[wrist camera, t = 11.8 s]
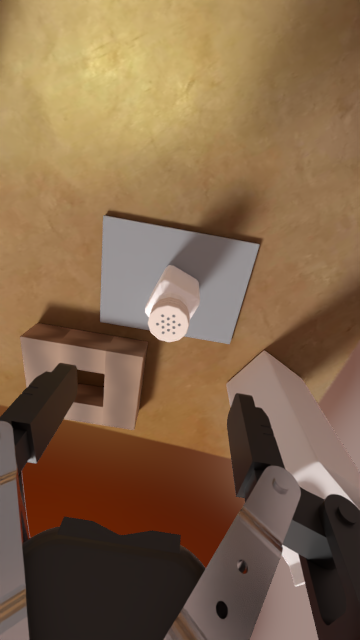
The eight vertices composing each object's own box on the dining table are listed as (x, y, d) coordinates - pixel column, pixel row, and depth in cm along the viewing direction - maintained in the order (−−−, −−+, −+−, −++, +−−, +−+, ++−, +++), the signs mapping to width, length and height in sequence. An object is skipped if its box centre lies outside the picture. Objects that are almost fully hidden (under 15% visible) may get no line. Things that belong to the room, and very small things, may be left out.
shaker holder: (148, 341, 32) (143, 357, 28) (139, 410, 37) (133, 430, 34) (37, 322, 31) (20, 336, 28) (44, 395, 36) (30, 413, 33)
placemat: (258, 243, 26) (259, 244, 25) (229, 341, 31) (229, 344, 30) (105, 215, 25) (103, 215, 25) (101, 319, 30) (100, 321, 30)
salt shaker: (169, 261, 26) (157, 290, 18) (200, 280, 27) (204, 316, 19) (151, 291, 28) (133, 331, 19) (182, 309, 29) (177, 354, 20)
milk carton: (302, 378, 33) (421, 570, 16) (262, 408, 35) (327, 601, 18) (264, 348, 31) (350, 527, 14) (225, 383, 34) (259, 569, 17)
